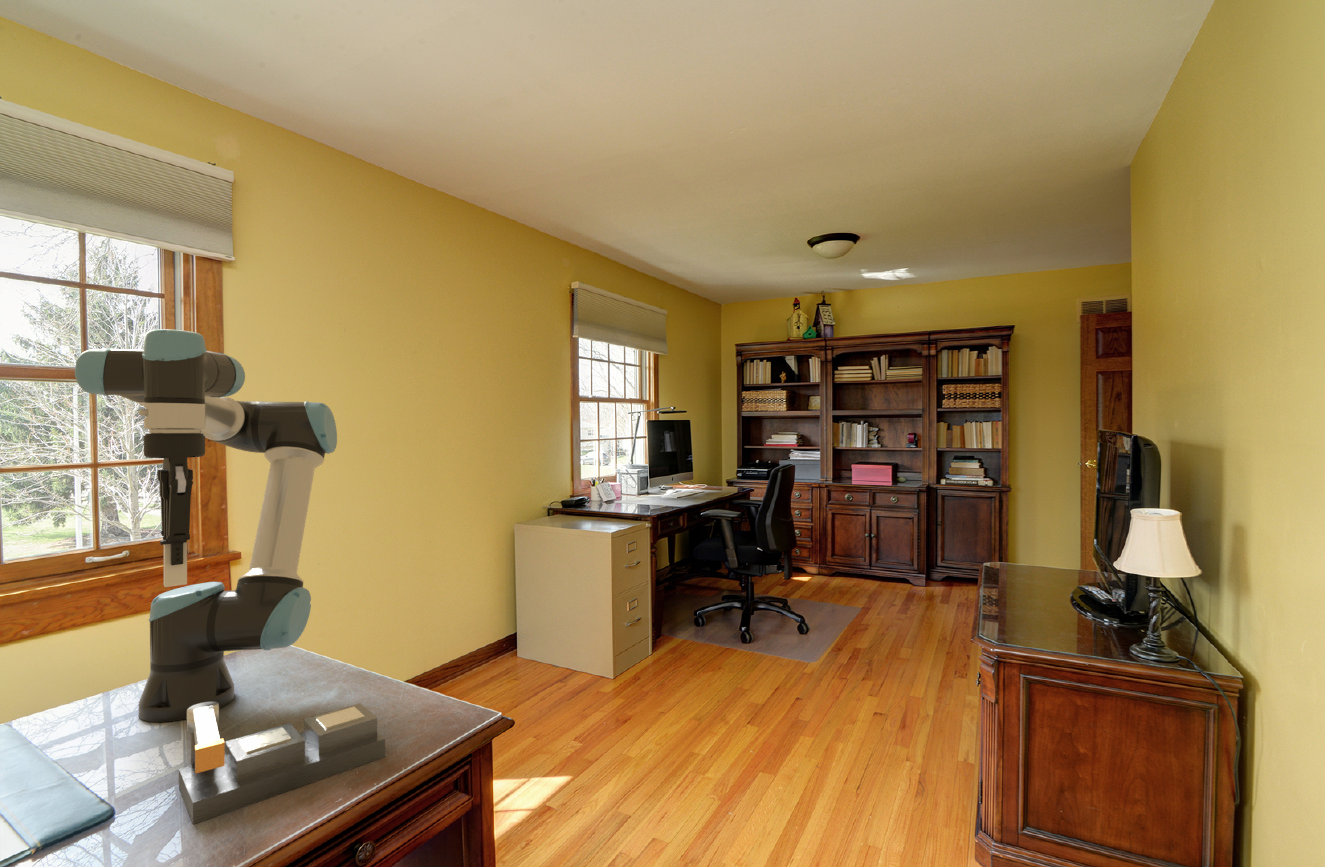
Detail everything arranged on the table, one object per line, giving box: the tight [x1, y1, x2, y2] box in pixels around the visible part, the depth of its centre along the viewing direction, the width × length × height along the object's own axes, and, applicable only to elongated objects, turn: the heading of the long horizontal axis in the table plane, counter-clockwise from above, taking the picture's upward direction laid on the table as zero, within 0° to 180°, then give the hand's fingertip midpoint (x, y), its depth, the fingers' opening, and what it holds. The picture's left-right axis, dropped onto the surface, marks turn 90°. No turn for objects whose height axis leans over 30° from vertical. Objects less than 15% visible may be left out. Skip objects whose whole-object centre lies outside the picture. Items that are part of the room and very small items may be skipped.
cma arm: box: [186, 702, 225, 773], centre depth 93 cm, size 18×4×3 cm, turn 39°
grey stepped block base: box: [178, 702, 386, 825], centre depth 102 cm, size 14×26×8 cm, turn 135°
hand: (175, 584), depth 98 cm, fingers closed
